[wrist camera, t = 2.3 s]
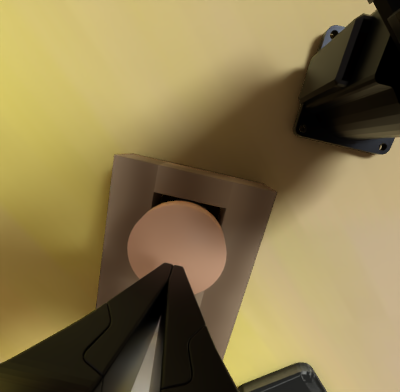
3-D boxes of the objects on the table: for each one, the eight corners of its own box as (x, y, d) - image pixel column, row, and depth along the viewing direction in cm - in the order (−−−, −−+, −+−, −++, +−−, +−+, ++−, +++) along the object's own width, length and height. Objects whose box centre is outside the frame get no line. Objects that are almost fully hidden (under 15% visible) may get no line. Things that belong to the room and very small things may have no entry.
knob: (230, 199, 13) (238, 218, 10) (212, 266, 15) (213, 305, 11) (155, 182, 13) (134, 195, 10) (143, 250, 15) (121, 284, 11)
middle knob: (201, 308, 16) (198, 357, 12) (187, 358, 17) (181, 417, 13) (136, 293, 15) (113, 338, 12) (127, 344, 17) (104, 400, 13)
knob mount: (263, 183, 15) (277, 192, 12) (191, 421, 21) (188, 466, 18) (133, 153, 15) (114, 154, 12) (98, 401, 21) (79, 442, 18)
